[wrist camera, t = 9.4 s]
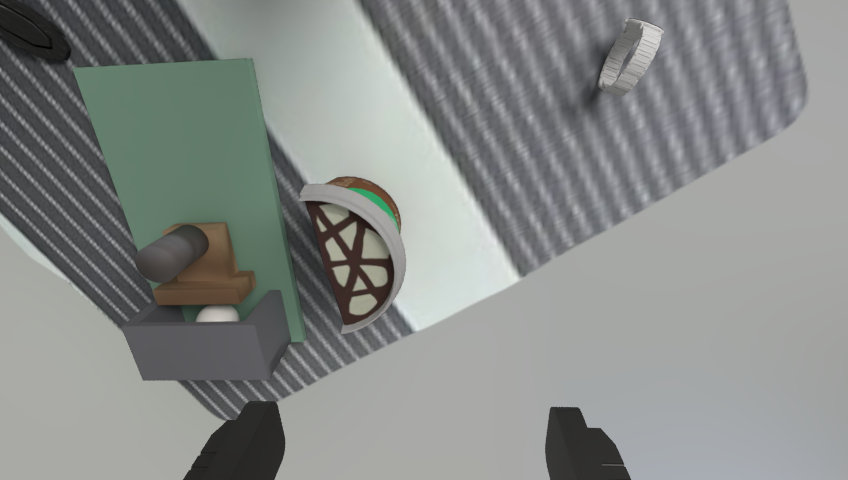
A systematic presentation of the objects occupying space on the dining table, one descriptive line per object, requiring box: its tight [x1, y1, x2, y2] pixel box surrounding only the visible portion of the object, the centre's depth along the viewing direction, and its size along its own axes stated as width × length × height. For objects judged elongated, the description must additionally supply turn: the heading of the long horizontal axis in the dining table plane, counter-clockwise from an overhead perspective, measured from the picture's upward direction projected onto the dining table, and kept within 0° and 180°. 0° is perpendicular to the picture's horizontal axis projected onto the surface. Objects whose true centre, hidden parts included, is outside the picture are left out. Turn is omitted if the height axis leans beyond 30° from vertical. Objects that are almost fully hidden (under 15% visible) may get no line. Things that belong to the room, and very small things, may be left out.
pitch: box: [72, 59, 307, 342], centre depth 39 cm, size 28×15×1 cm, turn 3°
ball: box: [196, 304, 240, 322], centre depth 41 cm, size 4×4×4 cm
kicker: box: [135, 222, 257, 305], centre depth 36 cm, size 7×8×7 cm
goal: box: [121, 290, 291, 380], centre depth 40 cm, size 6×12×6 cm, turn 93°
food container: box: [298, 177, 406, 334], centre depth 34 cm, size 12×6×10 cm, turn 11°
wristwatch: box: [598, 18, 664, 96], centre depth 30 cm, size 3×5×5 cm, turn 161°
